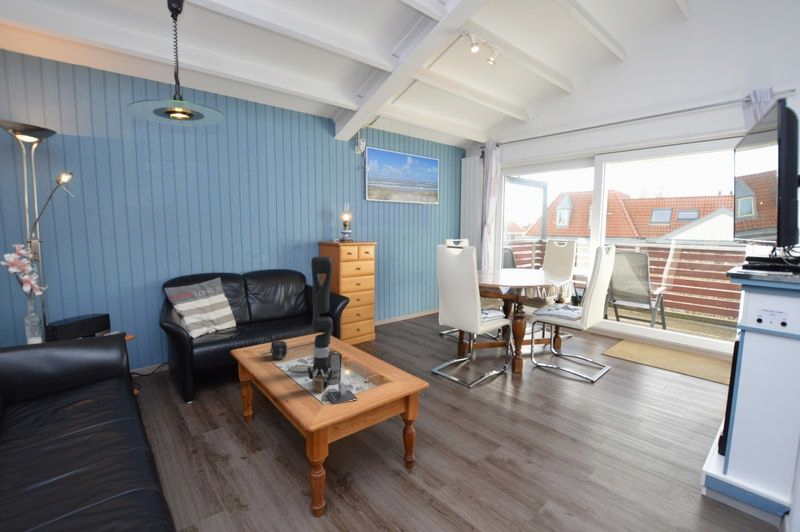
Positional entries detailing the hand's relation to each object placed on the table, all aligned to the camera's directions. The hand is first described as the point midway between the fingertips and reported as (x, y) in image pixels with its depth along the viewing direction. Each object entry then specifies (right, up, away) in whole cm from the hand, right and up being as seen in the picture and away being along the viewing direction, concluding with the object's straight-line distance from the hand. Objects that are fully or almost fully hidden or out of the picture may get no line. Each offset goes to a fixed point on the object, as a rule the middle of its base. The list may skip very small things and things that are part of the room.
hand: (320, 387), depth 190 cm
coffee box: (+4, -1, +14) cm, 14 cm away
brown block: (0, -1, 0) cm, 1 cm away
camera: (-40, +1, +55) cm, 68 cm away
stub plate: (+13, -2, -9) cm, 16 cm away
